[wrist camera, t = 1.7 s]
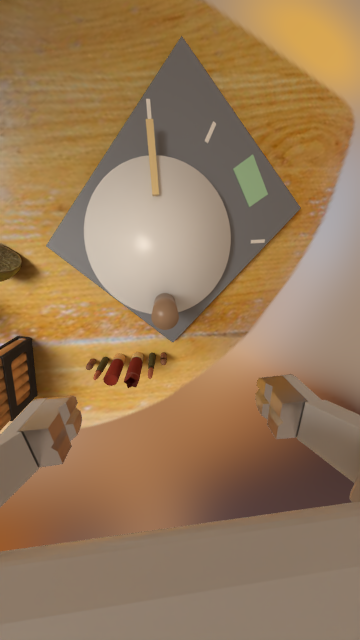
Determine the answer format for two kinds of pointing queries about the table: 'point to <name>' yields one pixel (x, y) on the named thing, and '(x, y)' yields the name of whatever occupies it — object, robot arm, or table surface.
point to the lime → (8, 263)
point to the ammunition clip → (16, 378)
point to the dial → (157, 235)
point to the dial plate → (205, 156)
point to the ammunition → (118, 364)
